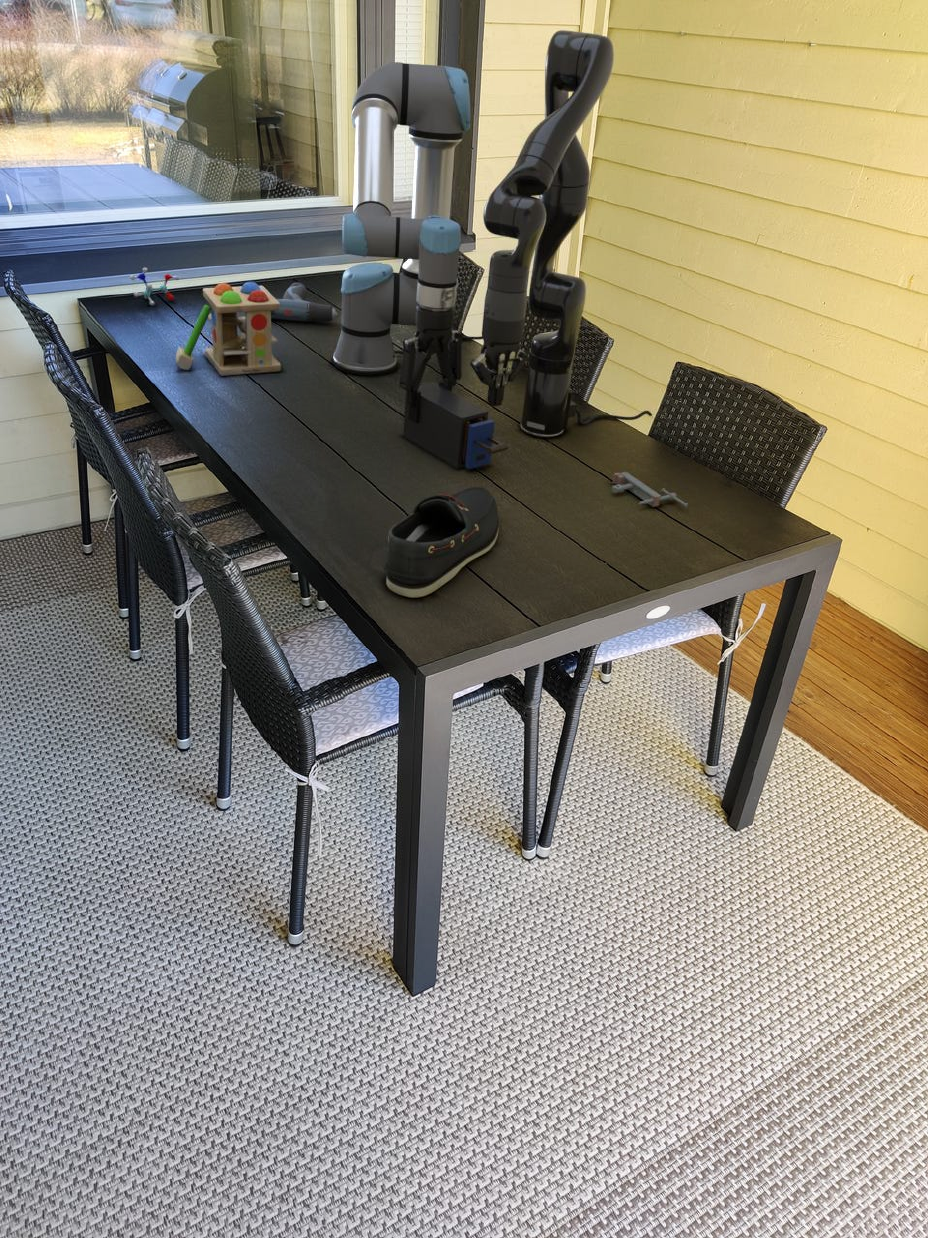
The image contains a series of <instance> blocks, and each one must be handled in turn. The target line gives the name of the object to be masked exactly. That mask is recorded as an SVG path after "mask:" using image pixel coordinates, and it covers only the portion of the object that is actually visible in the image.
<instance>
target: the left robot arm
mask: <svg viewBox="0 0 928 1238" xmlns="http://www.w3.org/2000/svg"><path fill="white" fill-rule="evenodd" d="M351 123H352V125H353V127H354V129H355V148H354V149H355V151H354V175H353V176H354V178H353V179H354V181H353V207H352V213H345V214H344V215H343V217H342V237H341V239H342V241H341V245H342V246H341V247H342V251H343V252H344V253H345V254H347V255H351V256H357V257H363V258H367V257H370V258H371V257H372V258H393V259H403V260H406V261H405V262H404V263H402V267H401V269H402V270H401V271H402V272H394V268H393V266H392V265H391V264H388V263H382V262H364V263H358V264H355V265H352V266H351V267H348V268H346V269H345V271H344V272H343V274H342V281H341V287H340V293H341V319H340V321H341V324H340V325H341V326H340V329H341V330H340V336H339V338H338V341H337V343H336V344H335V347H334V349H335V350H334V352H333V354H332V355H333V361H332V362H333V363H332V364H333V366H334V367H335V368H337V369H338V370H339V371H342V372H344V373H347V374H352V375H356V376H380V375H381V376H382V375H386V374H389V373H391V372H393V371H395V369H396V368H397V361H398V359H397V354H398V355H402V359H401V367H400V374H399V381H398V387H399V388H400V389H402V390H404V391H405V392H406V391H407V405H408V406H409V413H408V419H409V420H411V421H413V422H415V423H419V416H420V400H421V392H420V391H418V388H419V385H420V384H421V382H422V379H423V377H424V375H425V374H424V373H425V370H426V368H427V365H428V362H429V361H430V360H432V359H431V358H432V355H434V354H436V358H437V361H438V365H439V366H438V367H439V370H440V374H441V378H442V380H441V381H439V382H438V385H440V386H442V387H443V388H445V389H447V390H449V391H451V392H453V387H455V386H456V385H457V383H458V381H460V380H461V379H462V343H463V340H472V341H473V340H478V341H479V340H483V337H482V335H481V336H480V335H479V336H466V335H464V333H463V332H461V331H459V330H457V329H453V327H454V325H455V312H456V309H455V307H456V302H457V296H458V288H459V279H458V271H459V261H460V260H459V259H460V248H461V245H462V240H461V239H462V237H461V230H462V229H461V225H460V223H458V222H456V221H454V220H452V219H450V216H451V203H452V202H451V201H452V191H453V190H452V189H453V173H454V159H455V148H456V147H457V146H458V145H459V144H460V143H461V142H462V140H463V132H467V131H470V129H471V96H470V84H469V78H468V74H467V73H466V71H464V70H463V69H461V68H458V67H452V66H447V65H435V64H434V65H433V64H419V63H418V64H417V63H407V62H401V61H400V62H398V61H395V62H388V63H385V64H383V65H381V66H379V67H377V68H376V69H374V70H373V71H371V72H370V73H369V74H368V75H367V76H366V78H364V80H363V81H362V82H361V84H360V85H359V87H358V88H357V90H356V93H355V94H354V97H353V101H352V105H351ZM398 125H399V126H405V127H406V126H407V127H408V137H409V138H410V139H411V141H412V142H413V143H414V158H413V159H414V160H413V178H412V179H413V180H412V181H413V183H412V200H411V201H412V202H411V217H401V216H392V204H393V203H392V200H393V198H392V196H393V147H394V146H393V143H394V141H393V139H394V132H395V131H396V129H397V127H398ZM391 325H397V326H414V327H416V331H415V334H414V336H413V337H411V338H409V339H408V338H406V337H405V338H403V340H402V347H403V348H402V349H403V350H395V347H394V343H393V341H392V337H391V336H392V335H391Z"/></svg>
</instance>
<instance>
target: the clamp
mask: <svg viewBox="0 0 928 1238" xmlns="http://www.w3.org/2000/svg"><path fill="white" fill-rule="evenodd" d="M612 477H613V478H612V482H611V484H615V485H612V486H611V491H612V492H613V493H614V494H619V493H623V492H624V491H626V490H628V491H630V492H631V493H632V494H634V495H635V496H637V497H638V498H639V499H641V500H642V501H638V505H639V506H641V505H650V506H651V507H652V508H654V507H659V506H660V502H662V501H666V500H668V501H673V500H675V501H676V502H678V503H679V504H680V505H682V506H683V508H684V509H687V508H688V507H689V503H688V502H684V501H683V500H681V499H680V498H678V496H677V493H676V492H669V491H668V490H666V488H664V487H662V488H661V490H660V492H661V493H662V494H663V493H664V495H661V494H659V493H658V492H657V491H655V490H654V489H652V488H650V487H649V486H648V485H646V484H645V483H643V481H640V480H639V479H638V478H636V477H635V476H633V475H632V474H630V473H629V472H628V471H622V472H615V473H613V476H612Z"/></svg>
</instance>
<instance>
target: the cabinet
mask: <svg viewBox="0 0 928 1238" xmlns="http://www.w3.org/2000/svg"><path fill="white" fill-rule="evenodd" d="M418 391H420V392H421V400H420V416H419V423H415V422H413V421H411V420H409V419H408V413H409V406H408V405H407V391H406V390H405V397H404V398H405V399H404V416H403V417H404V418H403V437H404V438H405V439H407V440H408V441H409V442H411V443H413V444H415V445H416V446H418V447H420V448H421V449H423V450H425V452H426V451H427V452H429V453H430V454H431V455H433V456H435V457H436V458H438V459H440V460H442V461H443V462H445V463H446V464H448V465H449V466H451V467H453V468H455V469H456V470H460V469H463V468H466V467H465V462H466V461H465V462H463V461H461V457H462V446H463V435H464V424H465V421H468V420H472V419H476V418H480V417H481V418H483V421H486V420H489V411H488V410H487V409H485V408H483V407H481V406H479V405H477V404H475V403H474V402H471V401H470V400H468V399H466V398H464V397H462V396H460V395H459V394H456V393H454V392H453V391H452V392H451V391H449V390H447V389H445V388H443V387H442V386H440V385H439V383H435V382H434V381H428V382H423V383H420V385H419V388H418Z"/></svg>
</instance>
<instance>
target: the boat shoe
mask: <svg viewBox="0 0 928 1238" xmlns="http://www.w3.org/2000/svg"><path fill="white" fill-rule="evenodd" d="M499 528H500V518H499V509H498V505H497V501H496V499H495V498H494V496H493V494H492V493H491V491H490V490H488V489H487V488H486V487H483V486H471V487H467V488H464V489H462V490H459V491H458V492H455V493H454V494H452V495H447V494H437V493H436V494H432V495H429V496H427V497H424V498H423V499H421V500H420V501H419V502H418V503H417V504H415V506H414V508H413V509H412V511H411V513H410V514H409V515H407V516H405V517H404V518H403V519H401V520H400V521H398V522H396V523H394V524H393V525H392V526H391V527H390V529H389V531H388V532H387V535H386V537H385V538H386V540H387V541H388V546H387V547H388V550H387V554H386V560H385V563H384V565H383V566H384V567H383V569H384V570H385V571H386V580H385V581H386V586H387V588H388V589H389V590H390V591H392V592H393V593H395V594H397V595H399V596H403V597H406V598H421V597H425V596H427V595H430V594H432V593H433V592H435V591H437V590H438V589H439V588H441V587H442V586H444V585H445V584H446V583H448V582H449V581H451V580H452V579H453V578H454V577H455V576H457V574H458V573H459V572H460V570H461V569H462V568H463V567H465V566H466V565H467V564H468V563H470V562H471V561H473V560H475V559H477V558H479V557H480V556H482V555H484V554H486V553H487V552H489V551H490V550H491V549H492V548H493V546H494V545H495V544H496V541H497V539H498V537H499V536H498V535H499Z"/></svg>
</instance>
